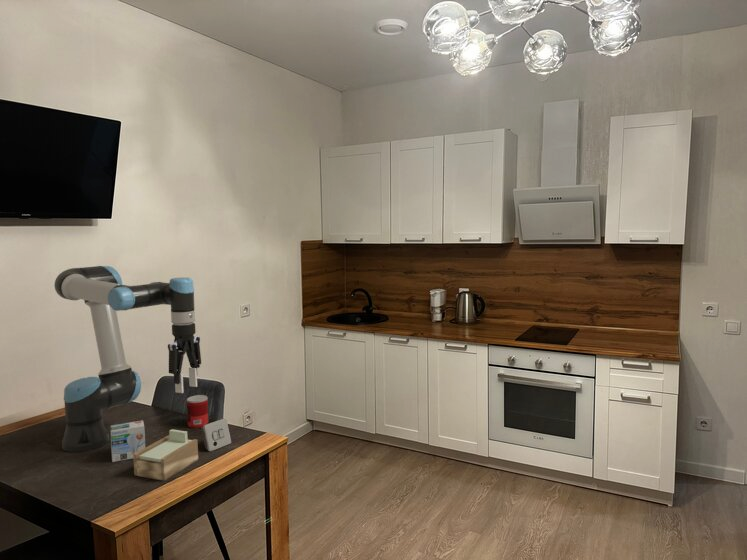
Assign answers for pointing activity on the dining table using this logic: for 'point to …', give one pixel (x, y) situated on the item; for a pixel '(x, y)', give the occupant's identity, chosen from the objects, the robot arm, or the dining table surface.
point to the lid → (166, 446)
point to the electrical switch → (216, 434)
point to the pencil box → (165, 461)
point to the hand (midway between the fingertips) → (186, 389)
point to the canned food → (197, 411)
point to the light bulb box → (127, 440)
